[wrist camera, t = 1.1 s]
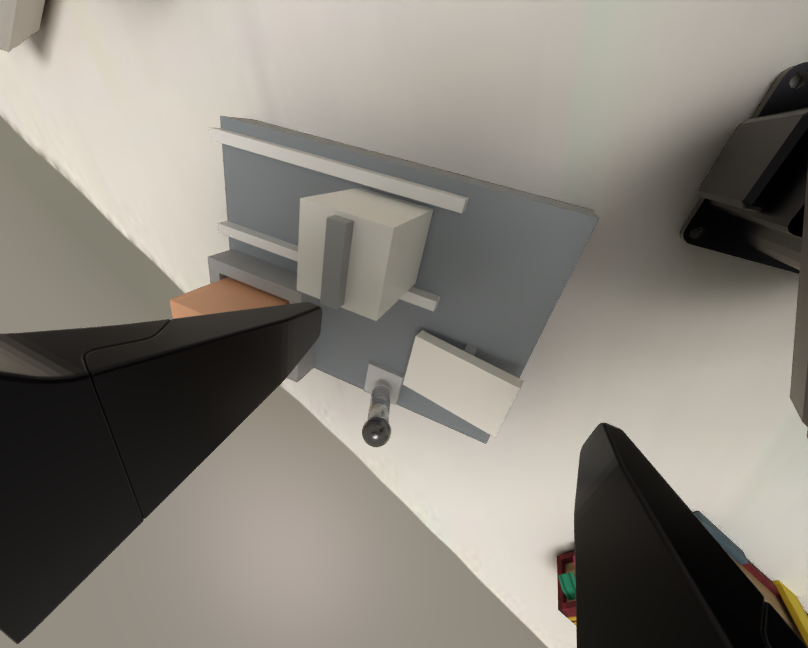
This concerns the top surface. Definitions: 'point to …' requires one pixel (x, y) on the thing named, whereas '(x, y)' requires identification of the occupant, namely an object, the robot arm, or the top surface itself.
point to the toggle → (378, 418)
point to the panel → (439, 269)
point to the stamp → (18, 21)
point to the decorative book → (772, 590)
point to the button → (222, 299)
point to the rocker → (461, 382)
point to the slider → (360, 249)
